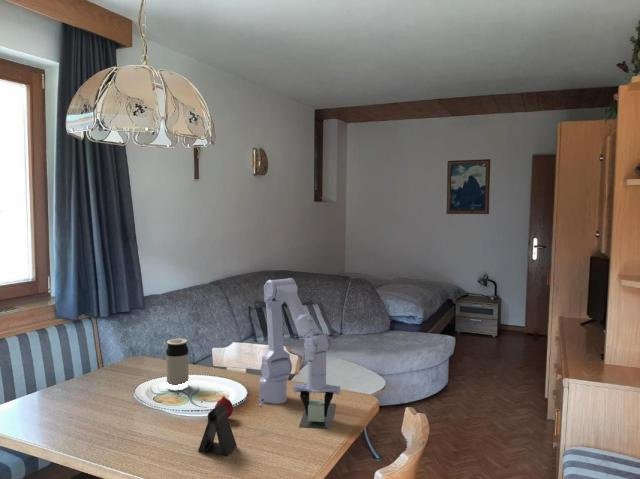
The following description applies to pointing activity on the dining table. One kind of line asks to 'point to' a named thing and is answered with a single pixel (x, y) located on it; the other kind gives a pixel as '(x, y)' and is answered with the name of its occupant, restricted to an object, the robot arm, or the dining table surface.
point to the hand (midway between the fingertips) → (316, 415)
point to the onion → (227, 404)
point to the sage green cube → (316, 410)
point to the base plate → (319, 425)
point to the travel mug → (177, 361)
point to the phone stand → (218, 433)
